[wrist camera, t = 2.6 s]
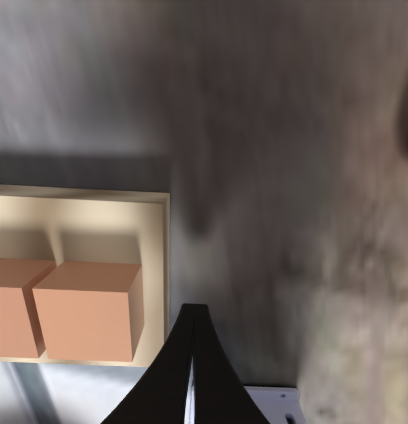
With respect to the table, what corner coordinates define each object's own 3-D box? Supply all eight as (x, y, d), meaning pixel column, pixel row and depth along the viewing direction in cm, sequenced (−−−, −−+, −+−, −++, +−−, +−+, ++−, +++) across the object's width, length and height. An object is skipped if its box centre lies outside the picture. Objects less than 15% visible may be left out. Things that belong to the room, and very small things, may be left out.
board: (169, 193, 14) (162, 204, 12) (169, 337, 18) (163, 367, 15) (-20, 183, 14) (-67, 192, 11) (20, 331, 18) (-9, 360, 15)
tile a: (141, 264, 13) (127, 292, 10) (144, 324, 14) (132, 362, 12) (64, 260, 13) (32, 288, 10) (74, 322, 14) (48, 358, 12)
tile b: (55, 260, 13) (21, 288, 10) (66, 321, 14) (39, 358, 12) (-23, 256, 13) (-76, 283, 10) (-4, 318, 14) (-47, 355, 12)
